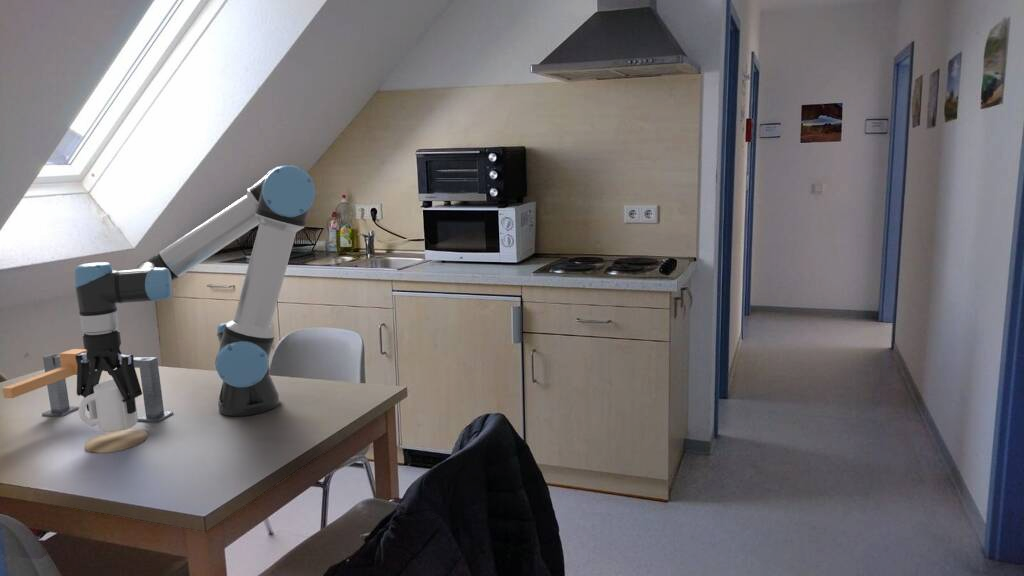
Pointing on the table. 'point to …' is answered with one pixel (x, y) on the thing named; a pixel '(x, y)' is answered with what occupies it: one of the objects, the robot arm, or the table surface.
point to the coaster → (115, 441)
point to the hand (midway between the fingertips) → (113, 425)
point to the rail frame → (146, 364)
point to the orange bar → (46, 375)
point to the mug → (106, 407)
